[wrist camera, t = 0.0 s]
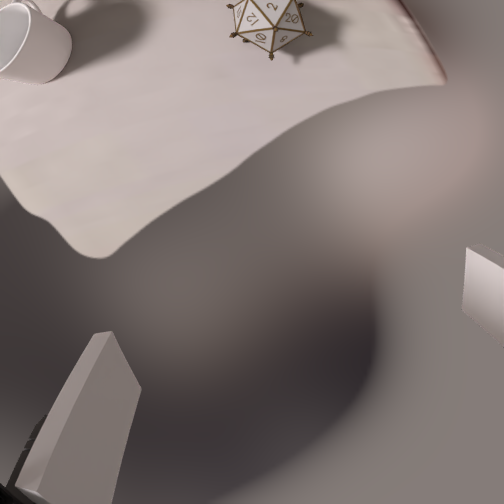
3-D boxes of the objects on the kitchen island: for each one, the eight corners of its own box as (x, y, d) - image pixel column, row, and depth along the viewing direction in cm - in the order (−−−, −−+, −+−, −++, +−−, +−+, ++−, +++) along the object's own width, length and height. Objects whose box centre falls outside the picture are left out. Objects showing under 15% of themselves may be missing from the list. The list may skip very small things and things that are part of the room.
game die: (269, 28, 33) (323, -15, 25) (279, 79, 33) (341, 37, 25) (206, 8, 28) (255, -47, 20) (209, 61, 28) (266, 2, 20)
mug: (74, -3, 26) (36, -33, 16) (76, 72, 30) (30, 55, 20) (23, 22, 26) (-21, 3, 16) (23, 95, 30) (-27, 89, 20)
